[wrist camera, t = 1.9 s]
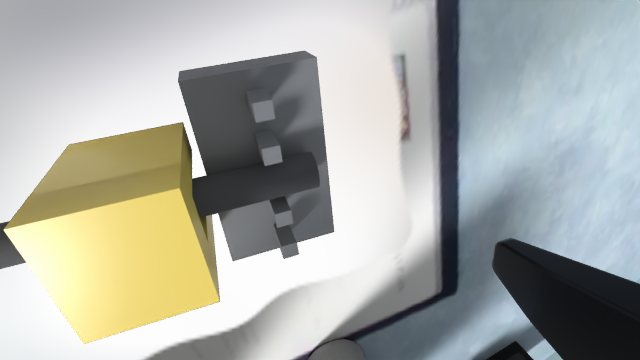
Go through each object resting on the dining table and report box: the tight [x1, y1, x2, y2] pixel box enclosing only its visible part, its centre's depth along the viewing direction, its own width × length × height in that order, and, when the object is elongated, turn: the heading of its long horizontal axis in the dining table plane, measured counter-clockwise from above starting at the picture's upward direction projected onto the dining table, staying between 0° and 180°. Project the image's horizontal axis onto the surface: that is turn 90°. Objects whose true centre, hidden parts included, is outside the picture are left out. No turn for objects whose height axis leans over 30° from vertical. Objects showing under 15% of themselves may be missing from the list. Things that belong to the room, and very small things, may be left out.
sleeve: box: [3, 122, 220, 344], centre depth 15 cm, size 5×5×7 cm
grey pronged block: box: [178, 51, 334, 261], centre depth 18 cm, size 10×6×4 cm, turn 6°
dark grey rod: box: [0, 152, 320, 269], centre depth 14 cm, size 26×5×6 cm, turn 96°
